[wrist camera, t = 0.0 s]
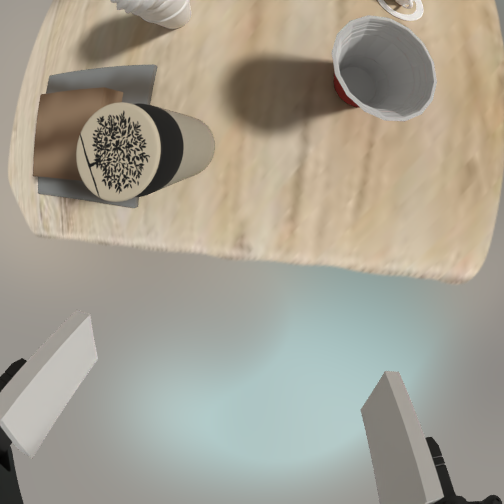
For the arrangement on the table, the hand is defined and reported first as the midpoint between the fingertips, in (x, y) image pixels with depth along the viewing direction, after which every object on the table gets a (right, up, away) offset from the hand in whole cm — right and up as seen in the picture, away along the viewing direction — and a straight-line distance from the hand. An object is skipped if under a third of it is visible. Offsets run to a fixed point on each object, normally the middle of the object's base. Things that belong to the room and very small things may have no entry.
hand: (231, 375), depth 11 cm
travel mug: (-8, +19, +24) cm, 31 cm away
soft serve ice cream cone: (-9, +37, +17) cm, 42 cm away
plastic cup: (+14, +26, +19) cm, 35 cm away
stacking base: (-23, +23, +23) cm, 40 cm away
